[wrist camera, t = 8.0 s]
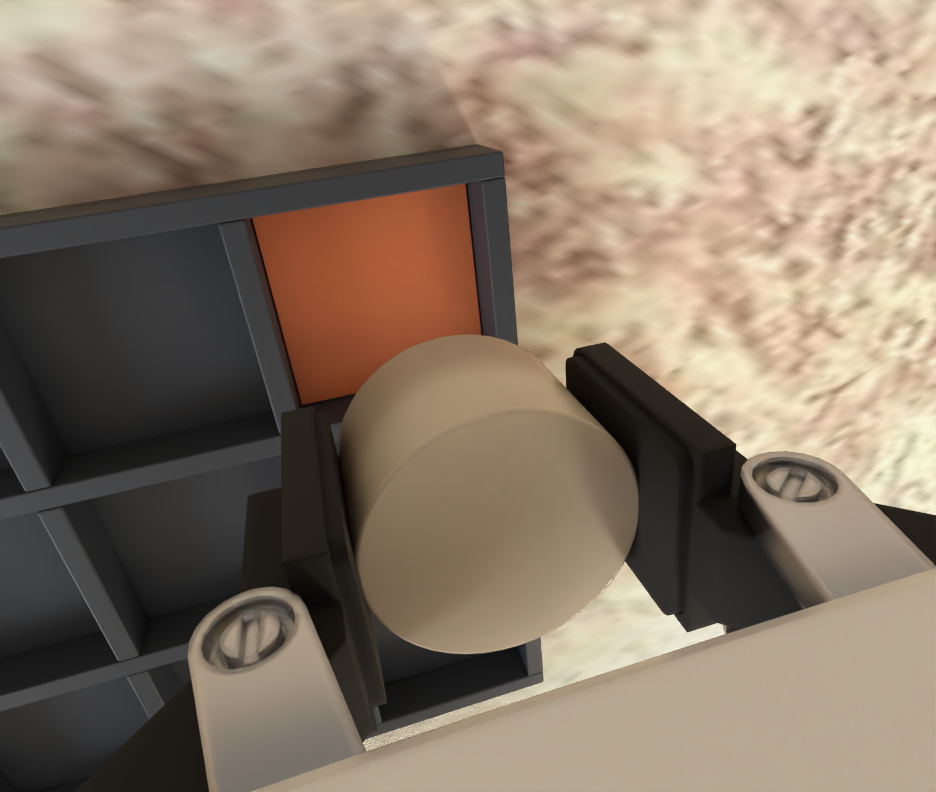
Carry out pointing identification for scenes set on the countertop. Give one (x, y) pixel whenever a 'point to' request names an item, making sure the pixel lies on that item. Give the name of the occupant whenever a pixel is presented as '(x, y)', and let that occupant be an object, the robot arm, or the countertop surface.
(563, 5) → the countertop surface
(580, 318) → the countertop surface
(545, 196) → the countertop surface
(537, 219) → the countertop surface
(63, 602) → the grid
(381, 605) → the cylinder
